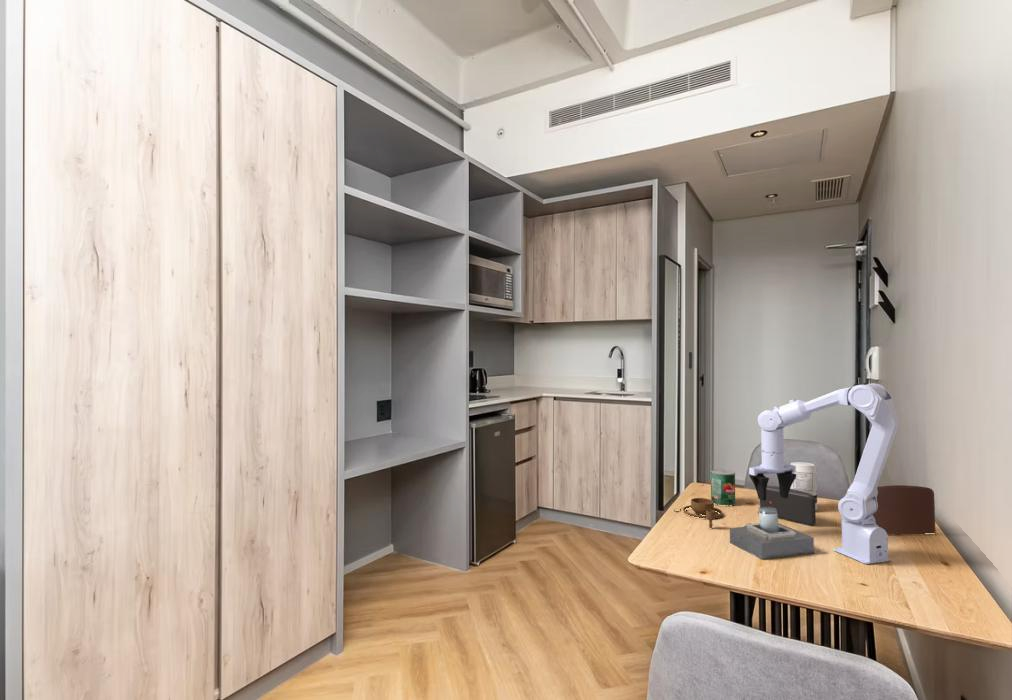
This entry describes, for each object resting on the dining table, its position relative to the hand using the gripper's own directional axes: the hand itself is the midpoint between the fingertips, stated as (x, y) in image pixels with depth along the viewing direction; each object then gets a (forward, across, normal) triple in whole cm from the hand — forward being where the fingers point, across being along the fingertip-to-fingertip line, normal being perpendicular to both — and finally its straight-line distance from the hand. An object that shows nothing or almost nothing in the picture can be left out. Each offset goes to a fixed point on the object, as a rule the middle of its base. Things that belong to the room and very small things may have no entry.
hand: (772, 498), depth 148 cm
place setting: (+11, +12, -19) cm, 25 cm away
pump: (+6, +9, +9) cm, 14 cm away
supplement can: (+10, -27, -16) cm, 33 cm away
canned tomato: (+10, -6, -30) cm, 32 cm away
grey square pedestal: (+10, +9, +7) cm, 15 cm away
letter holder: (+10, -35, +6) cm, 37 cm away
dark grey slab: (+10, -13, -9) cm, 19 cm away
